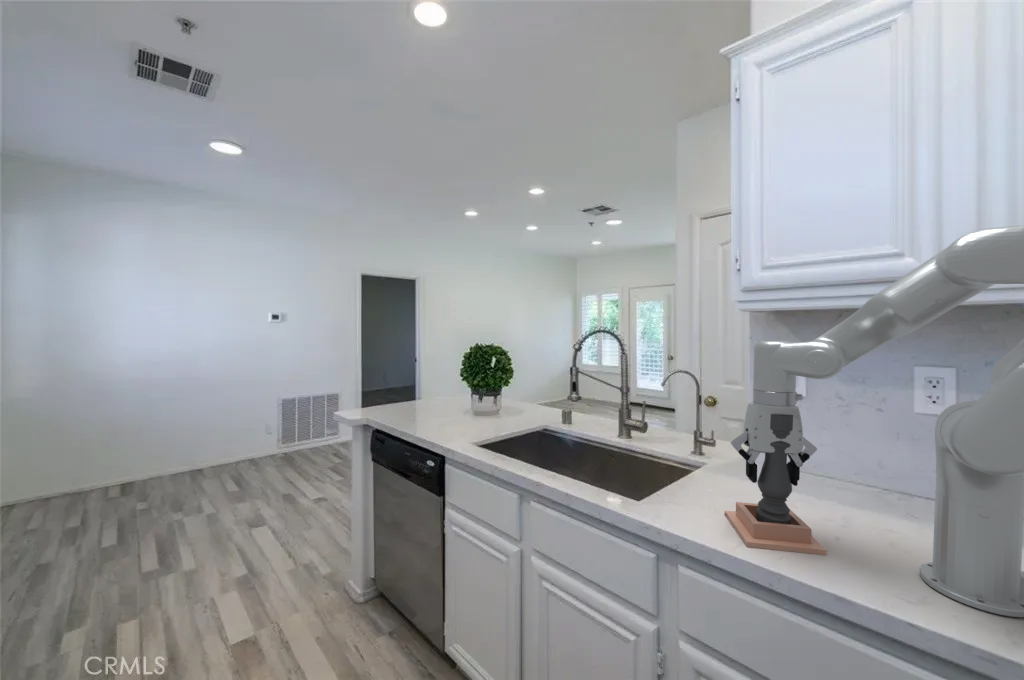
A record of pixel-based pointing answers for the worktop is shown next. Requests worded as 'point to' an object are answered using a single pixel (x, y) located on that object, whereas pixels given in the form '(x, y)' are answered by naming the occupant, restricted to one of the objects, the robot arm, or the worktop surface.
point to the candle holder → (776, 475)
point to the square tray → (773, 531)
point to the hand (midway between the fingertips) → (771, 481)
